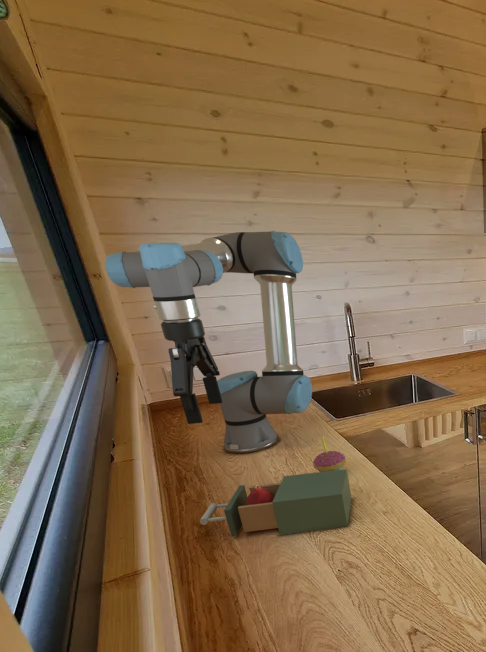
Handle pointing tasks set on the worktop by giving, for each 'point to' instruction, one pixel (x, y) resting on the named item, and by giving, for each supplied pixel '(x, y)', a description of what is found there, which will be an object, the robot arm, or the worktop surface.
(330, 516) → the cabinet
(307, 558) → the worktop surface
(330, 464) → the cupcake
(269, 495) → the onion
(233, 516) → the drawer
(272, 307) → the robot arm
